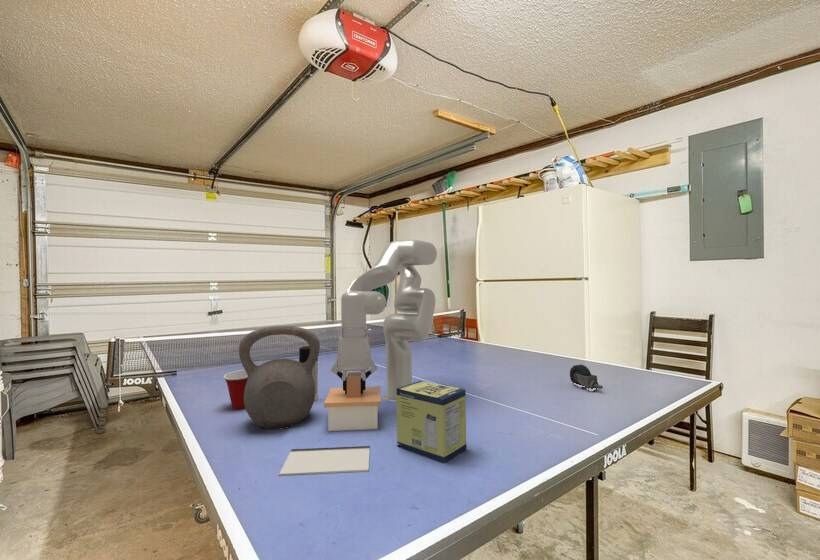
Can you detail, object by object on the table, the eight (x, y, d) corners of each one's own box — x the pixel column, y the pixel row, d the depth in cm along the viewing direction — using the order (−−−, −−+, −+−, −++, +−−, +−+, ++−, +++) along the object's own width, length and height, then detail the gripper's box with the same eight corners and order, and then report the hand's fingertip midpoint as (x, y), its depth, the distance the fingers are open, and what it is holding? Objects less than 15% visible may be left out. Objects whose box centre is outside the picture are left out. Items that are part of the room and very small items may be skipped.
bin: (377, 415, 126) (377, 390, 126) (377, 432, 112) (377, 404, 112) (334, 417, 124) (333, 392, 125) (328, 434, 111) (328, 406, 111)
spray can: (320, 399, 144) (320, 345, 144) (314, 405, 137) (314, 348, 137) (303, 399, 144) (303, 345, 144) (296, 404, 137) (295, 348, 138)
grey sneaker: (567, 388, 160) (596, 394, 146) (565, 364, 161) (594, 368, 147) (578, 386, 162) (608, 392, 148) (576, 363, 163) (605, 366, 149)
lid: (380, 390, 127) (380, 368, 127) (380, 405, 111) (380, 380, 111) (331, 391, 125) (330, 369, 125) (324, 407, 109) (323, 381, 110)
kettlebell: (233, 437, 109) (233, 330, 109) (244, 416, 126) (243, 324, 126) (320, 428, 115) (320, 327, 115) (319, 410, 132) (319, 322, 132)
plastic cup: (216, 409, 133) (216, 374, 133) (243, 400, 143) (242, 368, 143) (237, 414, 128) (237, 377, 128) (263, 404, 138) (263, 371, 138)
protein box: (420, 434, 110) (419, 379, 110) (467, 449, 100) (466, 389, 100) (395, 447, 102) (395, 387, 102) (444, 464, 92) (444, 398, 92)
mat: (370, 436, 108) (370, 435, 108) (368, 471, 89) (368, 469, 89) (297, 439, 107) (297, 438, 107) (279, 475, 87) (279, 473, 87)
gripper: (381, 330, 123) (381, 388, 123) (327, 331, 121) (328, 390, 121) (381, 333, 115) (381, 395, 115) (324, 335, 114) (324, 397, 114)
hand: (354, 392), depth 118 cm, fingers closed on lid, 4 cm apart
